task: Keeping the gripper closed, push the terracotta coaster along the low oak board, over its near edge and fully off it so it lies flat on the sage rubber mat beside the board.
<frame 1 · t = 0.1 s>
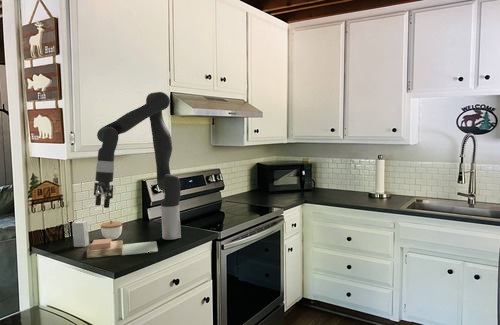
hand: (102, 206, 179), 22 cm above the worktop, tool pointing down, fingers open, 8 cm apart
oak board: (105, 251, 185), on the worktop
lidded jar: (112, 238, 208), on the worktop
terracotta coaster: (101, 243, 184), point 4 cm above the worktop, touching oak board
sage mat: (140, 248, 189), on the worktop
skincare box: (81, 246, 196), on the worktop
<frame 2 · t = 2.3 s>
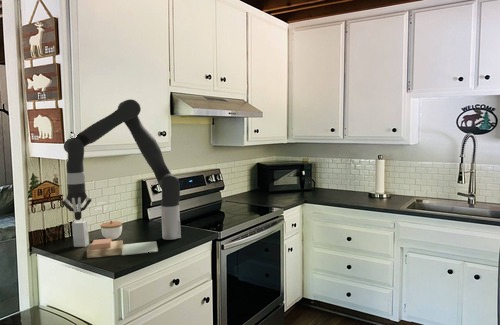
hand: (78, 219, 181), 16 cm above the worktop, tool pointing down, fingers closed
nothing on the worktop moved.
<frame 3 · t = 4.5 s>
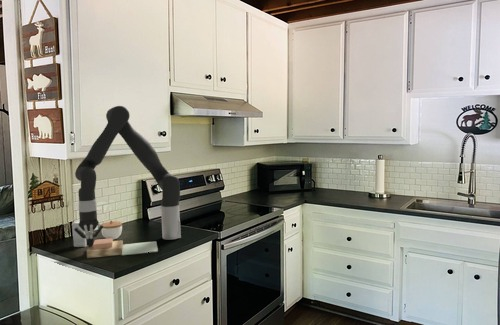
hand: (90, 246, 183), 3 cm above the worktop, tool pointing down, fingers closed
terracotta coaster: (103, 243, 185), point 4 cm above the worktop, touching gripper, oak board
everything else where it was.
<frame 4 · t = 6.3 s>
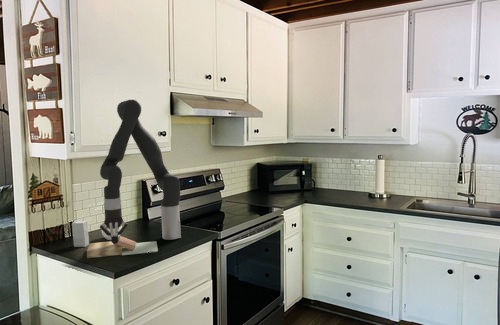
hand: (114, 243, 186), 4 cm above the worktop, tool pointing down, fingers closed
terracotta coaster: (126, 243, 187), point 3 cm above the worktop, tilted 27°, touching gripper, oak board, sage mat
everything else where it was.
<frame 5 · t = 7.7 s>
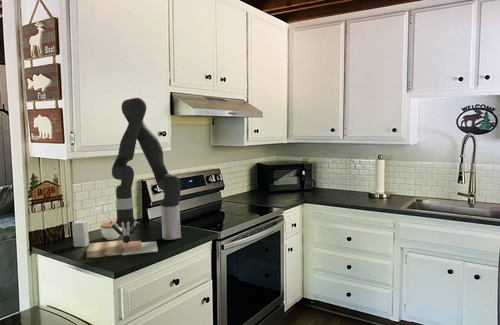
hand: (126, 242, 188), 3 cm above the worktop, tool pointing down, fingers closed
terracotta coaster: (132, 246, 188), point 1 cm above the worktop, touching sage mat
everything else where it was.
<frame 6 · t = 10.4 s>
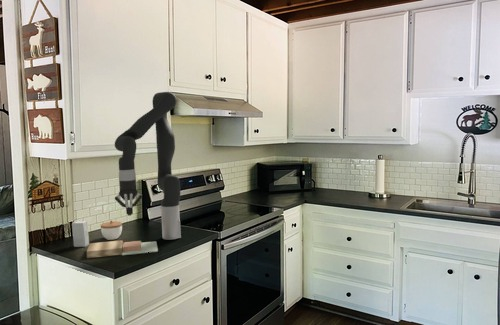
hand: (129, 215, 187), 17 cm above the worktop, tool pointing down, fingers closed
nothing on the worktop moved.
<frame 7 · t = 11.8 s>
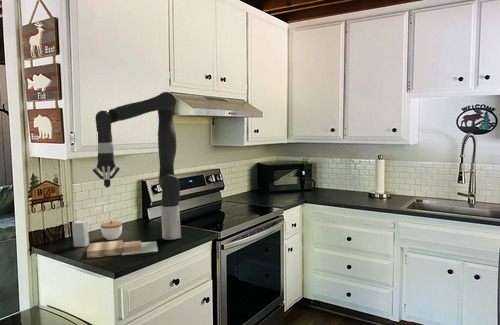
hand: (107, 187, 194), 29 cm above the worktop, tool pointing down, fingers closed
nothing on the worktop moved.
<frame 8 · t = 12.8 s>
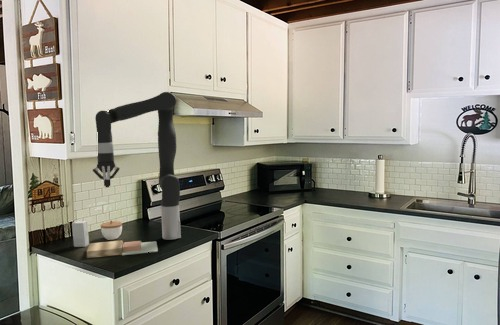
hand: (107, 187, 194), 29 cm above the worktop, tool pointing down, fingers closed
nothing on the worktop moved.
at the end: terracotta coaster inside the target area (3.1 cm from its centre), point 1.5 cm above the worktop; terracotta coaster touching sage mat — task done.
